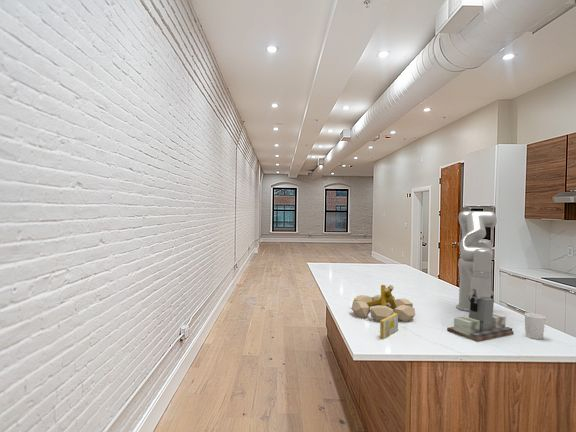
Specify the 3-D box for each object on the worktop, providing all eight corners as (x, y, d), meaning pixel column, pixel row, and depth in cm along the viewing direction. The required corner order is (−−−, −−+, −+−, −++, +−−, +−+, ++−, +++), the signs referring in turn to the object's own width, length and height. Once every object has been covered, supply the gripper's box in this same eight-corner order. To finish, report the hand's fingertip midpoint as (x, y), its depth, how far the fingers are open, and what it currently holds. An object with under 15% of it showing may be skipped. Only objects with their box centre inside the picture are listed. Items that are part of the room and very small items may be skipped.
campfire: (419, 326, 180) (420, 292, 180) (350, 321, 187) (351, 288, 187) (409, 308, 215) (410, 280, 214) (352, 304, 221) (353, 277, 221)
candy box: (394, 329, 174) (394, 312, 174) (398, 330, 173) (398, 313, 172) (379, 338, 161) (380, 320, 161) (384, 339, 160) (384, 321, 160)
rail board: (482, 324, 185) (482, 310, 185) (513, 334, 171) (513, 318, 171) (447, 330, 174) (447, 315, 174) (477, 341, 159) (477, 325, 159)
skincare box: (467, 327, 175) (468, 295, 175) (477, 325, 178) (478, 294, 178) (483, 332, 167) (484, 299, 167) (493, 331, 170) (494, 298, 170)
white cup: (535, 340, 163) (536, 318, 163) (520, 334, 171) (520, 313, 171) (548, 339, 165) (549, 317, 165) (532, 333, 173) (533, 312, 173)
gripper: (486, 272, 179) (485, 306, 179) (462, 274, 172) (461, 310, 172) (500, 275, 172) (499, 310, 173) (476, 277, 165) (475, 314, 165)
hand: (480, 310), depth 172 cm, fingers open, 9 cm apart
